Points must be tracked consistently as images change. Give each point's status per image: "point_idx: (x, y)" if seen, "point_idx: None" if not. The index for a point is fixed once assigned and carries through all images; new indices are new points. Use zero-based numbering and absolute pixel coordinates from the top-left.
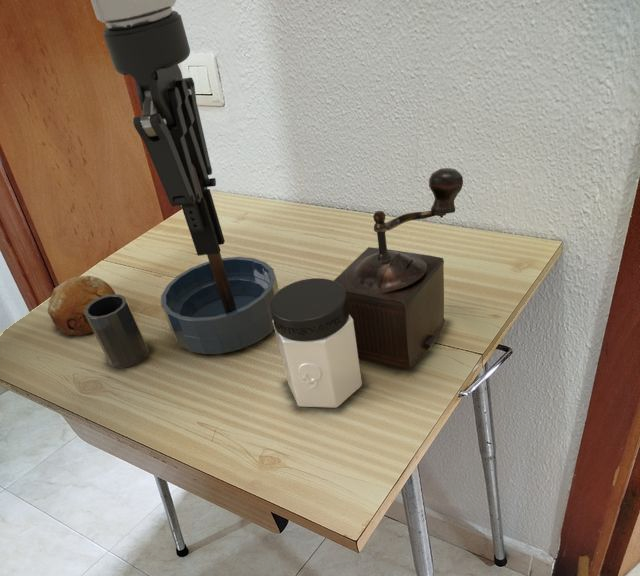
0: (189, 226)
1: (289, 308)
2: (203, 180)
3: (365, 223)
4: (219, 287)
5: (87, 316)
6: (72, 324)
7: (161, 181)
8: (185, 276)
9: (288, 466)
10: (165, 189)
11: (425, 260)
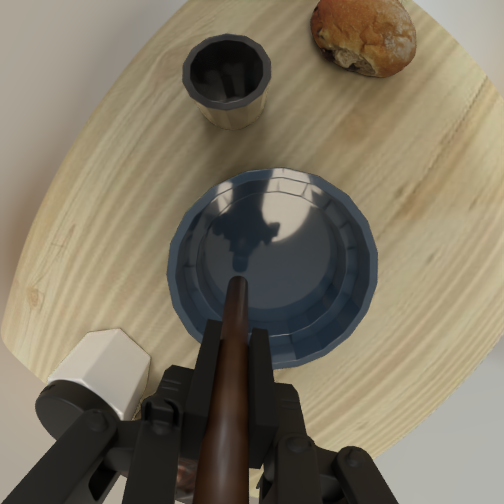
0: (163, 375)
1: (52, 412)
2: (261, 485)
3: (422, 408)
4: (225, 301)
5: (198, 44)
6: (314, 13)
7: (32, 468)
8: (348, 211)
9: (31, 311)
10: (53, 449)
11: (186, 499)
